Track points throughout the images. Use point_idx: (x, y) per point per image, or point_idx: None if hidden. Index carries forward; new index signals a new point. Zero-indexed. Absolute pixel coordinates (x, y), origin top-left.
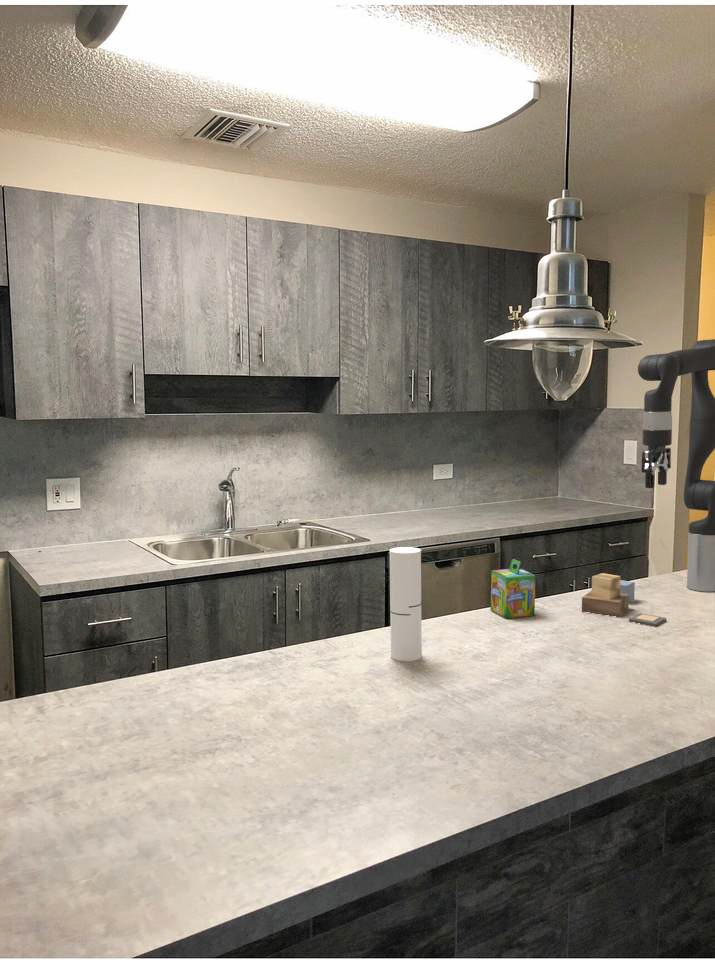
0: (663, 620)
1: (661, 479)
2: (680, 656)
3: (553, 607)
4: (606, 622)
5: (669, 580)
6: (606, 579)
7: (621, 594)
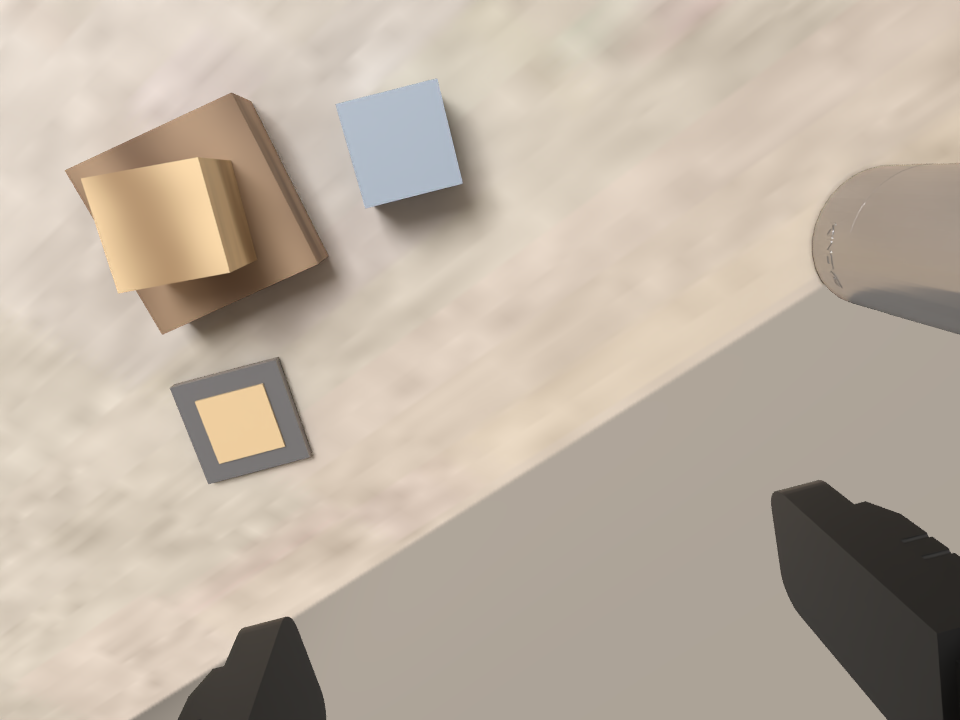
0: (283, 463)
1: (827, 593)
2: (35, 699)
3: (30, 28)
4: (86, 339)
5: (920, 36)
6: (112, 270)
7: (282, 247)
